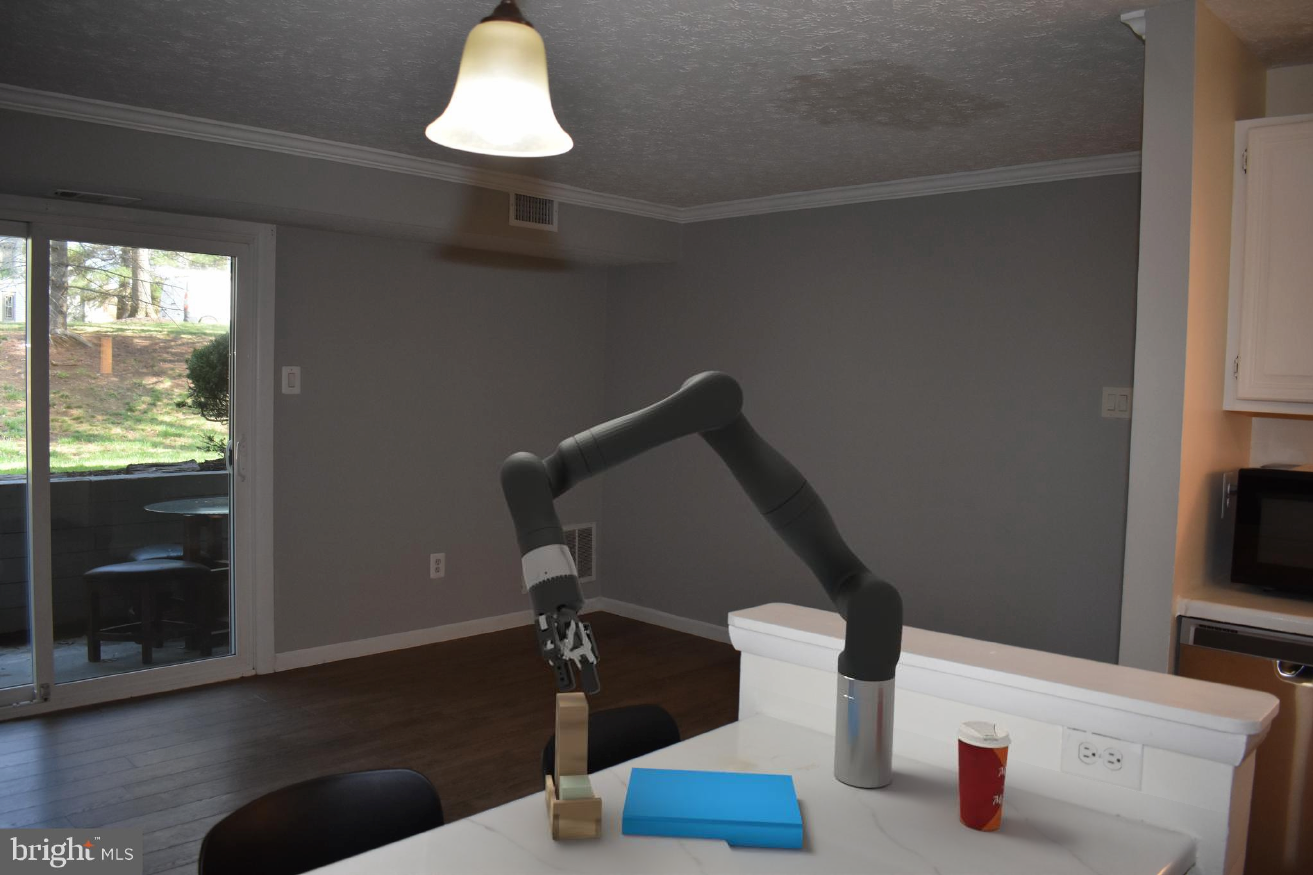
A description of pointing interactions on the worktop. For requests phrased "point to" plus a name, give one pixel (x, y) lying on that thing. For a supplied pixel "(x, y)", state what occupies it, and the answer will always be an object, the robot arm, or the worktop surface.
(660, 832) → the book
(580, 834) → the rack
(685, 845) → the worktop surface
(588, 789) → the offcut upper
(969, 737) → the paper cup
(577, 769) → the tall wooden block
